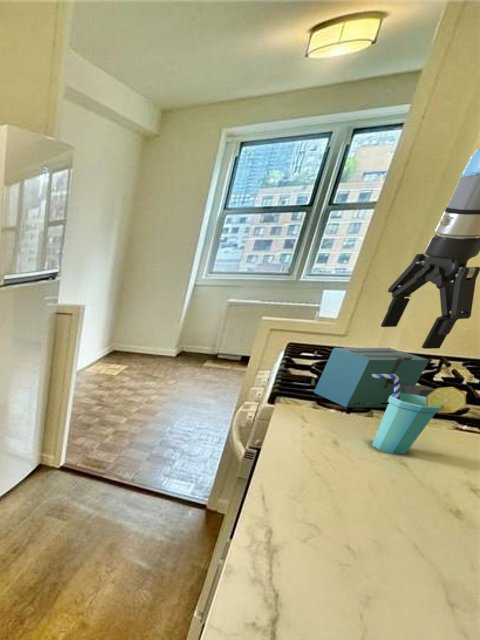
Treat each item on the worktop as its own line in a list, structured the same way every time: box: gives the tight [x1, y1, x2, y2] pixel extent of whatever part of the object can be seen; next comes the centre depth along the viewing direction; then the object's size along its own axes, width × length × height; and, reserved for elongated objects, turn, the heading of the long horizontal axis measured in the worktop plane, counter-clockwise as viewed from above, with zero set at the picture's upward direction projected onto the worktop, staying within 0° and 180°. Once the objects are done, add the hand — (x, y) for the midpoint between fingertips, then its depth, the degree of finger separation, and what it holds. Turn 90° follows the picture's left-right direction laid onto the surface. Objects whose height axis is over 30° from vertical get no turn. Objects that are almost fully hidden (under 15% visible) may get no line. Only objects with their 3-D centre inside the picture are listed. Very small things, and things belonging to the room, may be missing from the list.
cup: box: [371, 374, 467, 455], centre depth 95 cm, size 14×8×15 cm, turn 57°
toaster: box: [313, 347, 430, 408], centre depth 118 cm, size 14×12×13 cm
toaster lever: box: [387, 379, 437, 397], centre depth 110 cm, size 4×9×2 cm, turn 0°
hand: (408, 336), depth 108 cm, fingers open, 13 cm apart
